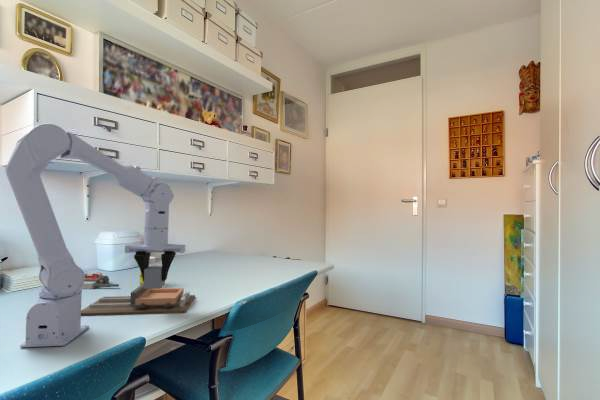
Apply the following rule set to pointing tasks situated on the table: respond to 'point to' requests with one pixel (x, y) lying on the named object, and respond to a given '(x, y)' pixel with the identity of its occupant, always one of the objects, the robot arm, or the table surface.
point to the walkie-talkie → (96, 281)
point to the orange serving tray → (155, 296)
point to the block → (153, 277)
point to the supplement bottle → (151, 263)
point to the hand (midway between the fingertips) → (155, 280)
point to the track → (134, 306)
